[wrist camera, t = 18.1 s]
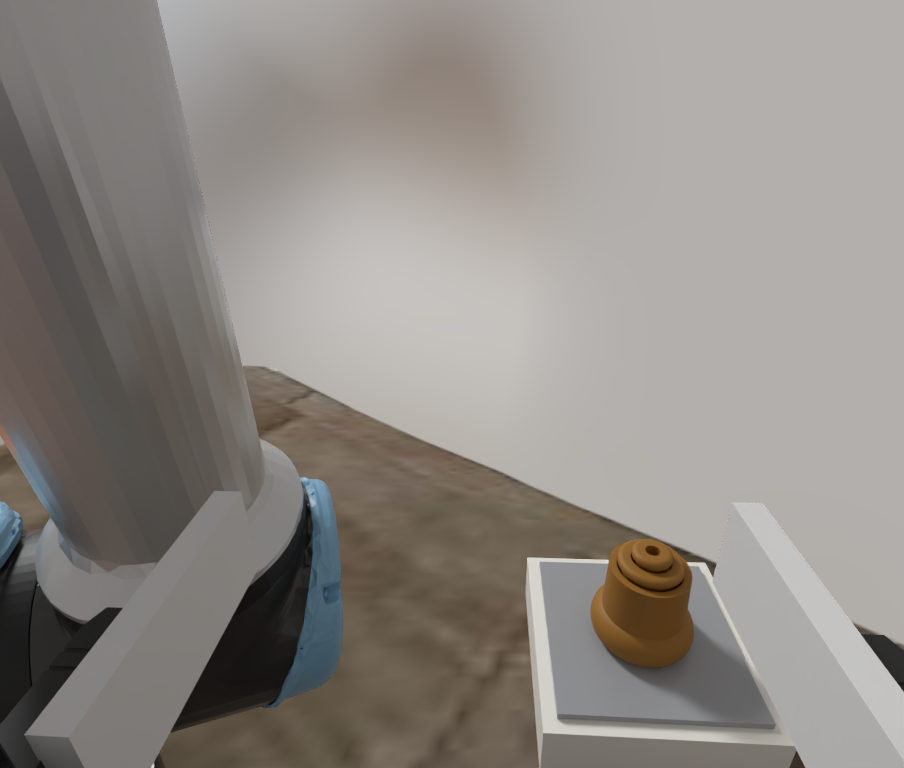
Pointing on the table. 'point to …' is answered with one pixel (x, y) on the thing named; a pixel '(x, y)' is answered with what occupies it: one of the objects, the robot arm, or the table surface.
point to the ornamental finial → (645, 604)
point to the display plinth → (643, 685)
